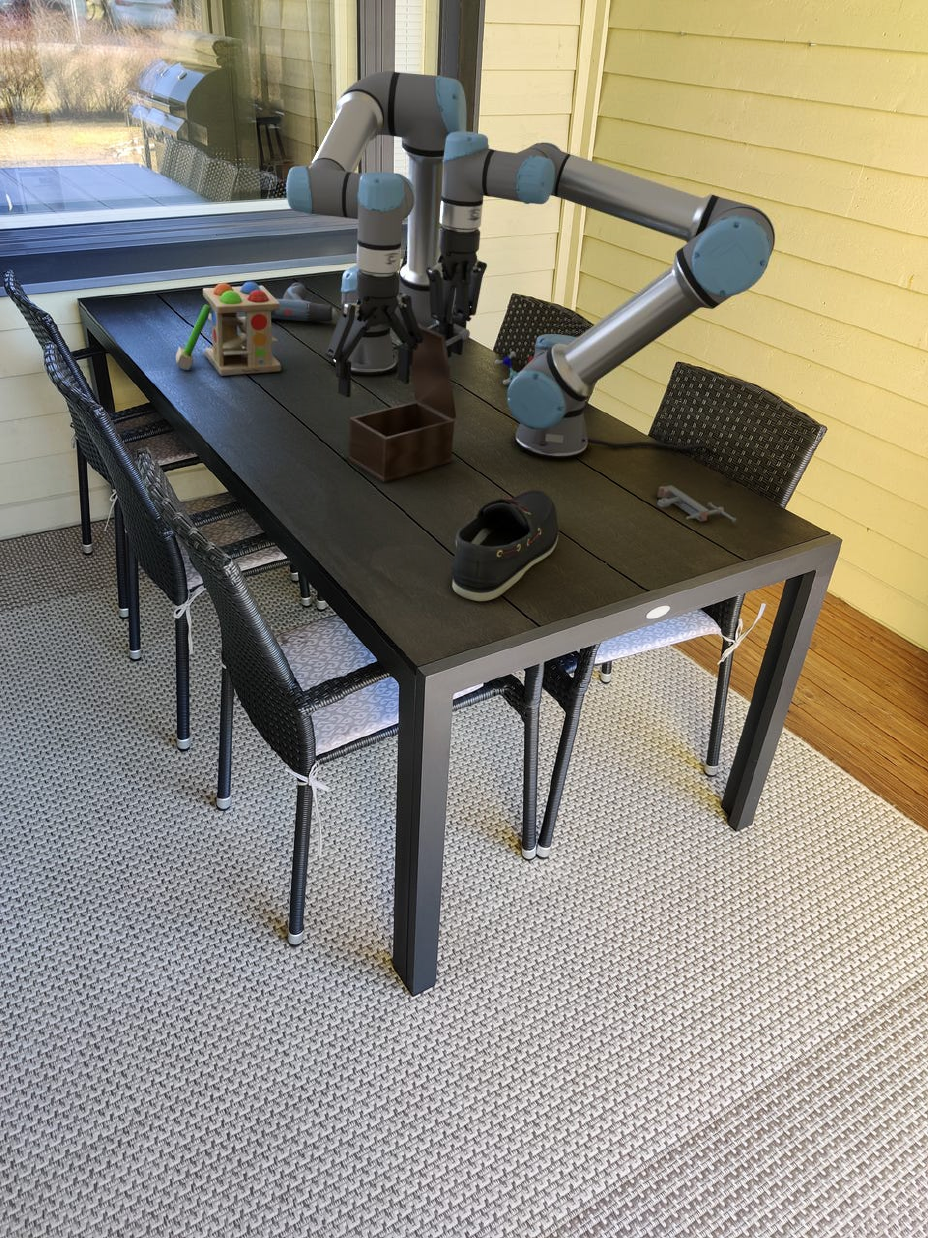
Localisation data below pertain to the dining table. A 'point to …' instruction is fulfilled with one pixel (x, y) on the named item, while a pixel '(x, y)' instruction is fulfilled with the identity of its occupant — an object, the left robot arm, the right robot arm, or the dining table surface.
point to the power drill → (301, 307)
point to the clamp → (669, 498)
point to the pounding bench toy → (229, 347)
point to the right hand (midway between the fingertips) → (450, 353)
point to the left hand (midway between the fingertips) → (374, 388)
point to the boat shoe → (503, 544)
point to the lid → (435, 369)
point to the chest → (400, 440)
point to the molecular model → (507, 362)
